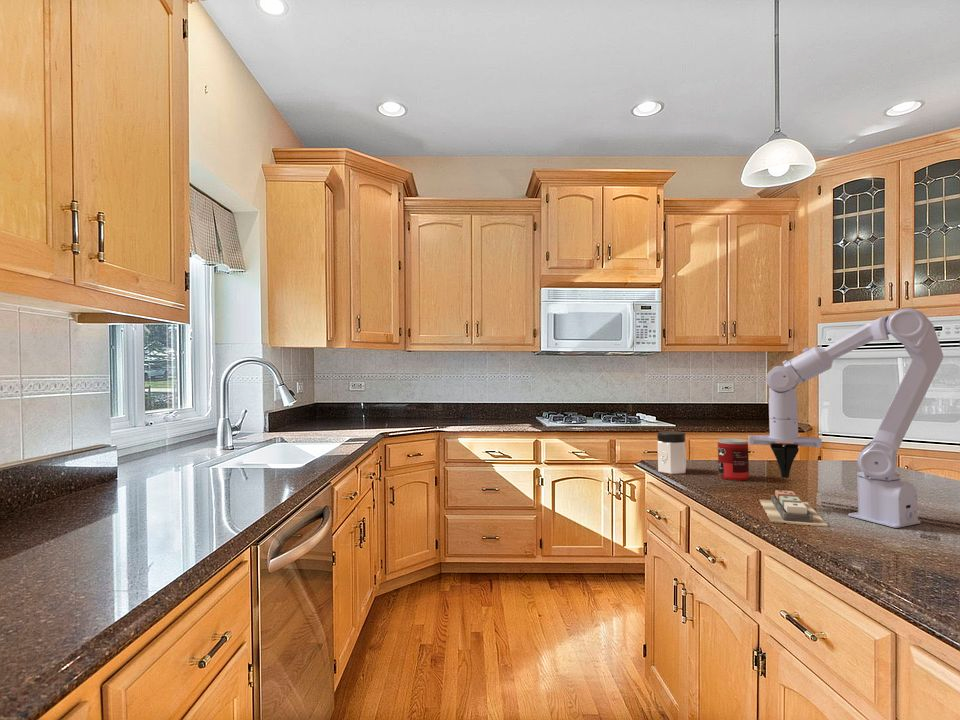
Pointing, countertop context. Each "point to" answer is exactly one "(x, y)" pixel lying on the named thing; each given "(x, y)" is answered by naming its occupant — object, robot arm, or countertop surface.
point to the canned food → (733, 459)
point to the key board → (790, 514)
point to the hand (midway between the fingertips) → (784, 476)
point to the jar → (671, 452)
